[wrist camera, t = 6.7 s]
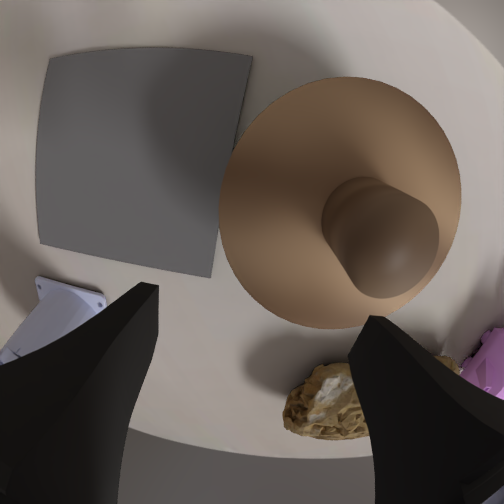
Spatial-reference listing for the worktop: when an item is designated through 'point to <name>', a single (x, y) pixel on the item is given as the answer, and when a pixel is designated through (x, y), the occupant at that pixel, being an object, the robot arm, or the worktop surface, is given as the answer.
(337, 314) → the lid
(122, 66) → the mat
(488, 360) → the teapot
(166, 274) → the worktop surface
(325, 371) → the sponge
